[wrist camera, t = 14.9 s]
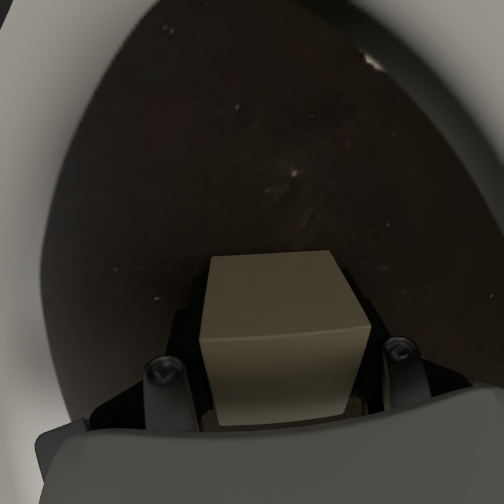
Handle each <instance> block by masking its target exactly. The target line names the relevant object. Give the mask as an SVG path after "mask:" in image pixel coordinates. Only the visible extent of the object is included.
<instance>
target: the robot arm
mask: <svg viewBox="0 0 504 504" xmlns="http://www.w3.org/2000/svg"><path fill="white" fill-rule="evenodd" d="M340 270H341V272H342V274H343V275H344V277H345V279H346V280H347V282H348V284H349V286H350V287H351V289H352V291H353V293H354V295H355V296H356V298H357V300H358V302H359V303H360V305H361V307H362V309H363V311H364V313H365V314H366V316H367V318H368V320H369V322H370V324H371V330H370V334H369V337H368V341H367V344H366V348H365V351H364V354H363V357H362V361H361V364H360V367H359V370H358V373H357V376H356V379H355V382H354V385H353V388H352V390H351V393H350V396H349V397H354V396H358V397H359V398H361V399H362V416H361V417H356V418H351V419H346V420H341V421H335V422H329V423H323V424H316V425H309V426H302V427H293V428H284V429H273V430H260V431H241V432H205V429H204V424H203V420H202V416H203V415H204V414H205V413H207V412H208V411H209V410H213V398H212V394H211V390H210V386H209V382H208V378H207V374H206V369H205V365H204V361H203V356H202V352H201V347H200V343H199V336H200V329H201V322H202V315H203V308H204V301H205V294H206V288H207V281H208V277H197V278H194V282H193V287H192V291H191V296H190V300H189V305H188V309H187V310H177V311H176V313H175V317H174V320H173V324H172V328H171V332H170V336H169V340H168V344H167V349H166V353H165V355H161V356H157V357H155V358H153V359H151V360H150V361H149V362H148V363H147V364H146V365H145V367H144V370H143V380H142V381H140V382H139V383H137V384H135V385H134V386H132V387H131V388H129V389H127V390H126V391H124V392H122V393H121V394H119V395H117V396H116V397H114V398H112V399H111V400H109V401H107V402H105V403H104V404H102V405H100V406H99V407H97V408H96V409H95V410H94V411H93V412H92V414H91V416H90V419H87V420H85V419H84V418H81V419H79V420H76V421H74V422H71V423H69V424H66V425H63V426H61V427H58V428H55V429H53V430H50V431H47V432H44V433H43V434H41V435H40V436H39V437H38V438H37V439H36V442H35V452H36V457H37V460H38V464H39V468H40V471H41V474H42V478H43V481H44V486H43V489H42V493H41V496H40V501H39V504H504V388H502V387H497V386H492V385H488V384H483V383H479V382H475V381H472V382H471V383H469V382H468V380H467V379H466V378H465V377H464V376H463V375H462V374H460V373H458V372H455V371H453V370H450V369H448V368H445V367H443V366H440V365H438V364H435V363H433V362H430V361H428V360H425V359H423V358H421V354H420V351H419V348H418V346H417V344H416V343H415V342H414V341H412V340H411V339H409V338H407V337H404V336H392V337H391V335H390V334H389V332H388V330H387V328H386V327H385V325H384V323H383V321H382V320H381V318H380V316H379V315H378V313H377V311H376V310H375V308H374V306H373V305H372V303H371V301H370V300H369V299H368V298H367V297H364V296H363V294H362V293H361V291H360V289H359V288H358V286H357V284H356V283H355V281H354V279H353V278H352V276H351V275H350V273H349V271H348V270H347V269H340Z"/></svg>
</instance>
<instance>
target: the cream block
mask: <svg viewBox="0 0 504 504" xmlns="http://www.w3.org/2000/svg"><path fill="white" fill-rule="evenodd" d="M370 330H371V324H370V322H369V320H368V318H367V316H366V314H365V313H364V311H363V309H362V307H361V305H360V303H359V302H358V300H357V298H356V296H355V295H354V293H353V291H352V289H351V287H350V286H349V284H348V282H347V280H346V279H345V277H344V275H343V274H342V272H341V270H340V268H339V267H338V265H337V263H336V262H335V260H334V258H333V257H332V255H331V253H330V252H329V251H328V250H321V251H303V252H285V253H267V254H249V255H231V256H213V257H212V258H211V263H210V269H209V275H208V281H207V288H206V294H205V301H204V308H203V315H202V322H201V329H200V336H199V343H200V347H201V352H202V356H203V361H204V365H205V369H206V374H207V378H208V382H209V386H210V390H211V394H212V398H213V402H214V406H215V410H216V414H217V417H218V421H219V424H220V425H253V424H268V423H280V422H290V421H299V420H307V419H314V418H321V417H327V416H333V415H339V414H343V412H344V409H345V407H346V404H347V401H348V399H349V396H350V393H351V390H352V388H353V385H354V382H355V379H356V376H357V373H358V370H359V367H360V364H361V361H362V357H363V354H364V351H365V348H366V344H367V341H368V337H369V334H370Z"/></svg>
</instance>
